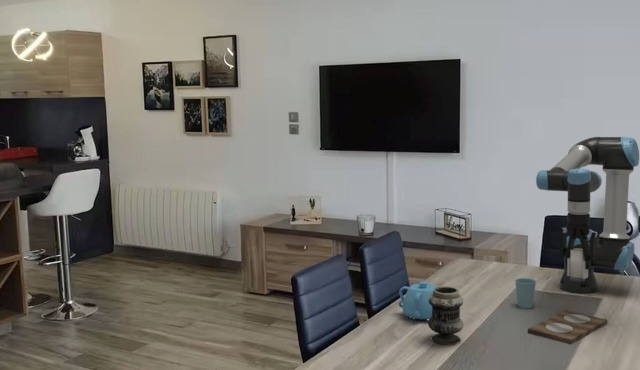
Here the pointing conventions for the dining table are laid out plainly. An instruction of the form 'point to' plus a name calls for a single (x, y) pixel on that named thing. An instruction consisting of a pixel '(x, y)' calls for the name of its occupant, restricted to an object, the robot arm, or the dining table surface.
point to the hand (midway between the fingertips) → (577, 276)
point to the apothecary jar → (445, 314)
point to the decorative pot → (417, 300)
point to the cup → (525, 292)
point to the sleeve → (576, 264)
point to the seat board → (567, 326)
